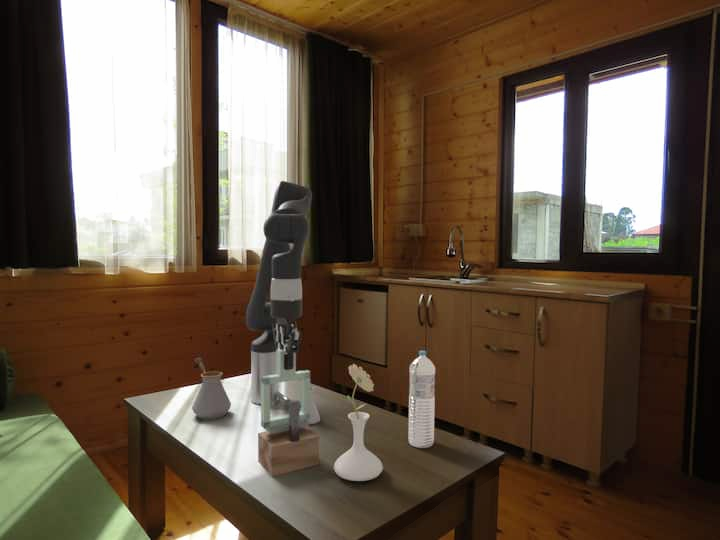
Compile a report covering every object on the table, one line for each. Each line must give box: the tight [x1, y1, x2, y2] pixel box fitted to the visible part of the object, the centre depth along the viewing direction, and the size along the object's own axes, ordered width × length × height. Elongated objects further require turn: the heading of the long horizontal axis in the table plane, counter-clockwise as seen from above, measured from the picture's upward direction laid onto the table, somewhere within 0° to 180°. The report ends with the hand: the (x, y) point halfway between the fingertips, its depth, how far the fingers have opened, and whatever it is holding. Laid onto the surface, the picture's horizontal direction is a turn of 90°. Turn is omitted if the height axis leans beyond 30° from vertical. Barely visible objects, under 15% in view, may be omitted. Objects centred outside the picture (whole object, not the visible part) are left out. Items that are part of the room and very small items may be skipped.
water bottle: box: [407, 350, 436, 449], centre depth 125 cm, size 7×7×25 cm
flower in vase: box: [333, 363, 384, 482], centre depth 108 cm, size 13×11×25 cm
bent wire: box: [270, 390, 300, 442], centre depth 118 cm, size 21×2×9 cm, turn 31°
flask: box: [299, 386, 321, 425], centre depth 141 cm, size 7×7×10 cm
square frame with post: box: [260, 349, 311, 434], centre depth 114 cm, size 5×12×19 cm, turn 121°
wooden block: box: [257, 426, 320, 477], centre depth 113 cm, size 9×12×7 cm
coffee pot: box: [191, 357, 232, 421], centre depth 148 cm, size 21×12×15 cm, turn 34°
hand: (286, 367), depth 114 cm, fingers closed on square frame with post, 2 cm apart
